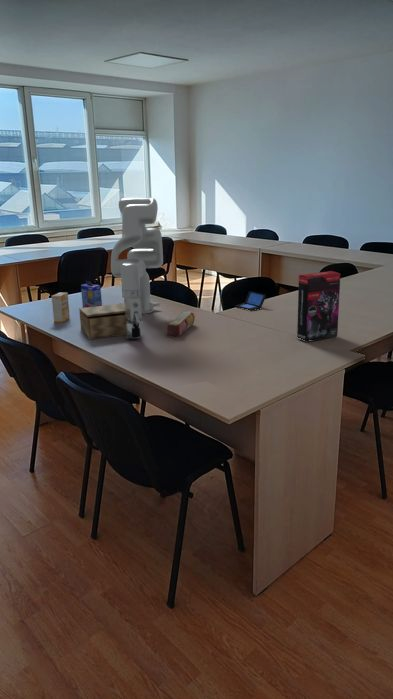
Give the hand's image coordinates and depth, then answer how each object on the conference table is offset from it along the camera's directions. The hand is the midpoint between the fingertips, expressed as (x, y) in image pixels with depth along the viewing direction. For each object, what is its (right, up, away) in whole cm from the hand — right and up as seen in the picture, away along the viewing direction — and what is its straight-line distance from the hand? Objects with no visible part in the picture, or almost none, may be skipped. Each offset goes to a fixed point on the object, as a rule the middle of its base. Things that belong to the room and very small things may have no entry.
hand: (133, 334), depth 221 cm
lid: (-12, +11, +10) cm, 19 cm away
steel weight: (0, -1, 0) cm, 1 cm away
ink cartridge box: (-28, +15, +55) cm, 64 cm away
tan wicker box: (-12, +2, +13) cm, 18 cm away
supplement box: (-38, +7, +31) cm, 50 cm away
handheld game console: (+55, +15, +51) cm, 76 cm away
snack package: (+20, +2, +12) cm, 23 cm away
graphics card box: (+77, -2, -1) cm, 77 cm away
